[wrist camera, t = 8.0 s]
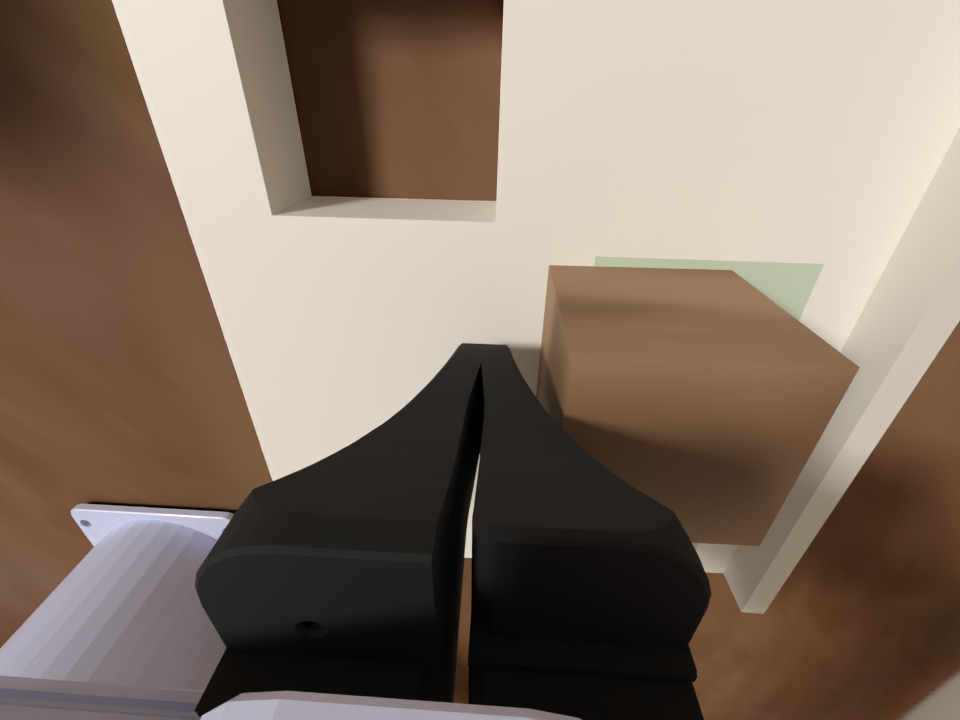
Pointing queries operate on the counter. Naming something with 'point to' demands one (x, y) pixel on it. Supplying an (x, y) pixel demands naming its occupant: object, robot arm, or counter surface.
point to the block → (688, 389)
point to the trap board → (583, 208)
